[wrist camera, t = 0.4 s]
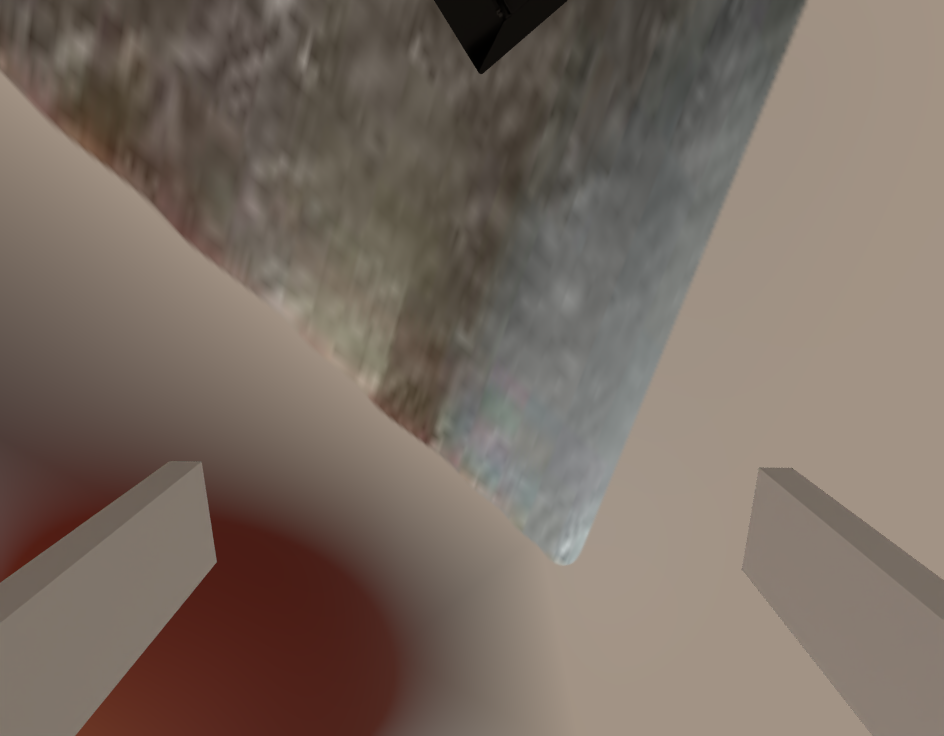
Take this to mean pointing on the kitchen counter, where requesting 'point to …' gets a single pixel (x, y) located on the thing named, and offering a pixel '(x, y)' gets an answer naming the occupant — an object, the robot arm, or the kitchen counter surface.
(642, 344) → the kitchen counter surface
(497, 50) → the black block
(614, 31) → the kitchen counter surface
